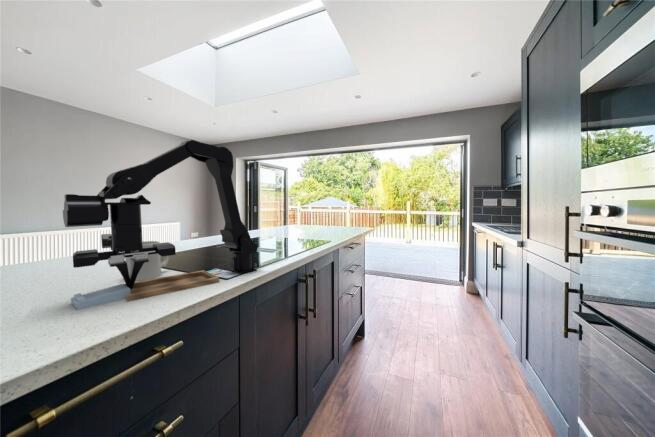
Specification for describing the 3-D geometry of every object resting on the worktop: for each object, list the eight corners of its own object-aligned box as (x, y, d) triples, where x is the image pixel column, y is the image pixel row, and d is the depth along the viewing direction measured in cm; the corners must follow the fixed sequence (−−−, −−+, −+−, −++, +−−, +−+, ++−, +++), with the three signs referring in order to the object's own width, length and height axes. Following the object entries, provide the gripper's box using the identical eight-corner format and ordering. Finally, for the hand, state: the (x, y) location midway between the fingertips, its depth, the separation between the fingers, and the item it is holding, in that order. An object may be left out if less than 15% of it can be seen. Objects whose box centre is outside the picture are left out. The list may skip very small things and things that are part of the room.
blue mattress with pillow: (123, 291, 63) (121, 281, 63) (131, 296, 59) (129, 285, 59) (72, 306, 56) (70, 295, 56) (78, 313, 52) (75, 300, 52)
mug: (139, 285, 71) (137, 245, 70) (119, 282, 74) (117, 244, 73) (178, 274, 82) (177, 240, 81) (159, 272, 85) (158, 239, 84)
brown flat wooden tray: (203, 276, 79) (203, 270, 79) (219, 284, 71) (219, 277, 71) (120, 292, 65) (120, 284, 65) (127, 305, 57) (127, 296, 57)
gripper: (163, 220, 73) (166, 275, 74) (71, 225, 60) (75, 290, 61) (174, 222, 65) (177, 283, 66) (70, 227, 52) (75, 303, 53)
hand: (130, 289), depth 62 cm, fingers closed
